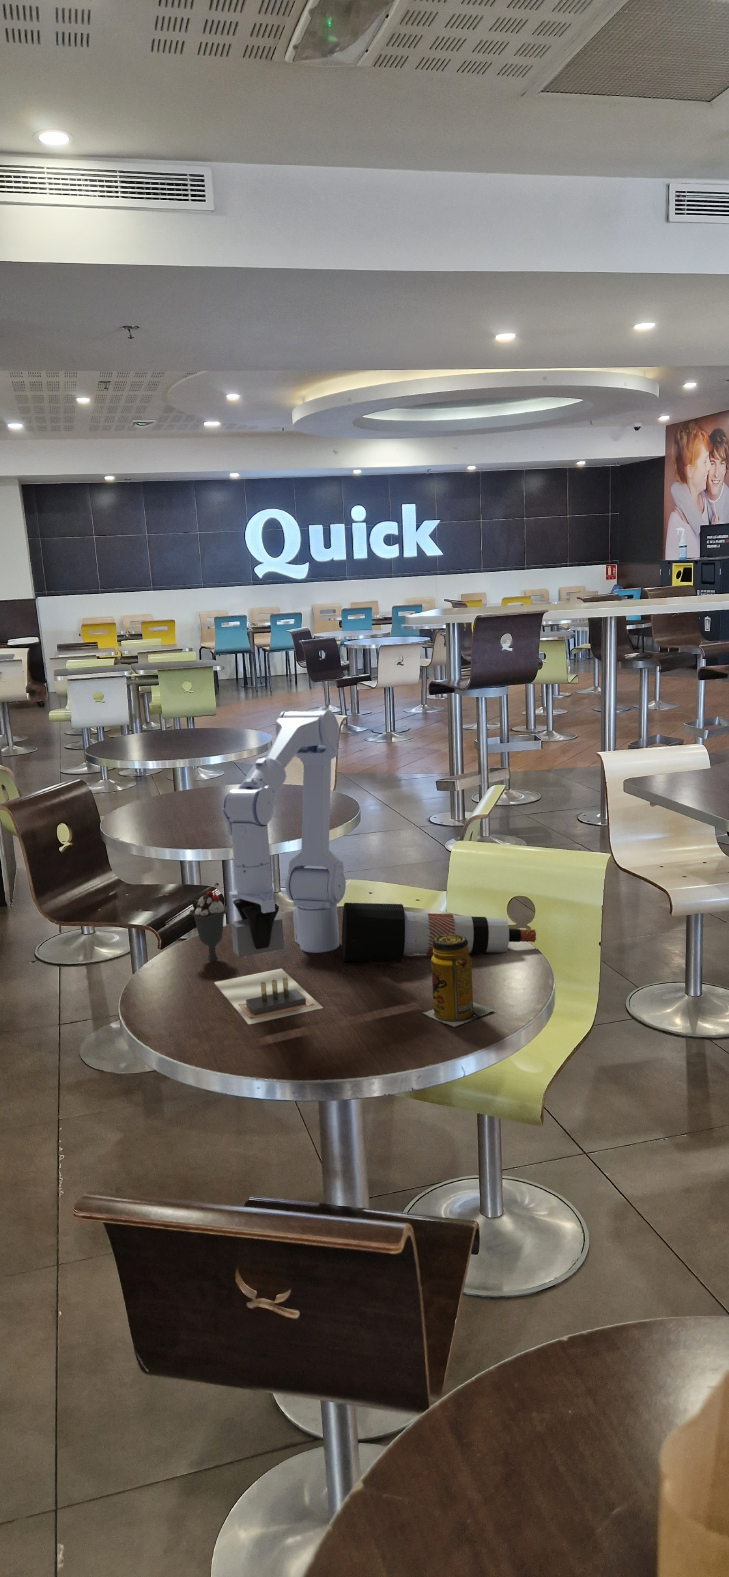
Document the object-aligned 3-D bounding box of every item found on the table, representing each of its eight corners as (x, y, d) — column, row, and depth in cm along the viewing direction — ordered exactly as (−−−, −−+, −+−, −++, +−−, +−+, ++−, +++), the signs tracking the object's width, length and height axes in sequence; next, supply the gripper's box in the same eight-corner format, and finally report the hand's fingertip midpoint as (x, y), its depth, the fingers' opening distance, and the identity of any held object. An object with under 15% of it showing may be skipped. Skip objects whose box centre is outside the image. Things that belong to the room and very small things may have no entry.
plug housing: (233, 951, 163) (231, 921, 162) (278, 943, 166) (275, 913, 165) (238, 957, 160) (236, 927, 159) (284, 948, 163) (282, 919, 162)
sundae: (238, 964, 181) (231, 883, 178) (204, 973, 177) (197, 891, 174) (222, 954, 186) (215, 876, 183) (188, 963, 182) (181, 883, 180)
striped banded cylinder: (534, 976, 179) (545, 936, 173) (343, 973, 176) (346, 931, 170) (524, 935, 187) (534, 895, 181) (341, 931, 184) (345, 890, 178)
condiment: (421, 1014, 154) (418, 939, 152) (462, 999, 159) (459, 926, 157) (453, 1028, 148) (450, 950, 146) (495, 1012, 153) (492, 936, 151)
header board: (214, 987, 170) (211, 959, 169) (281, 973, 175) (279, 946, 174) (249, 1030, 152) (246, 999, 151) (323, 1013, 156) (321, 983, 156)
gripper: (216, 857, 166) (222, 936, 168) (240, 876, 153) (247, 962, 155) (257, 851, 168) (263, 929, 171) (285, 869, 155) (291, 953, 158)
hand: (258, 944), depth 163 cm, fingers closed on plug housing, 3 cm apart
